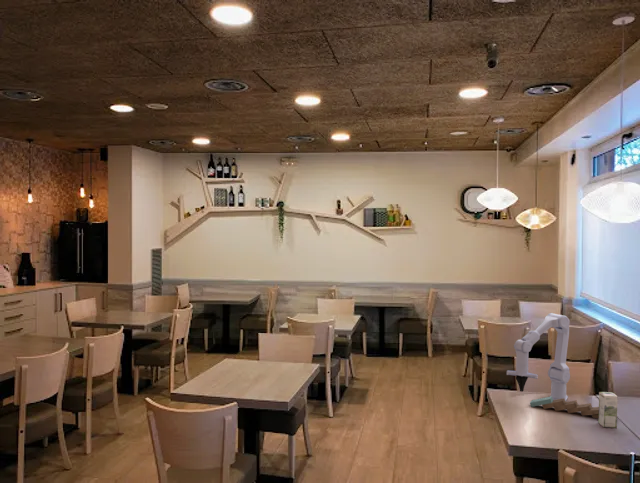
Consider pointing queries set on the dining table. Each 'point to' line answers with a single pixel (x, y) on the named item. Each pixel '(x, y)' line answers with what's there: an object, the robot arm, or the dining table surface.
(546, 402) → the domino
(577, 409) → the domino
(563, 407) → the domino
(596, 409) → the domino
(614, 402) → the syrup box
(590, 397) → the dining table surface
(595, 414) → the domino
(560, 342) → the robot arm
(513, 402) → the dining table surface
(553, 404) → the domino
